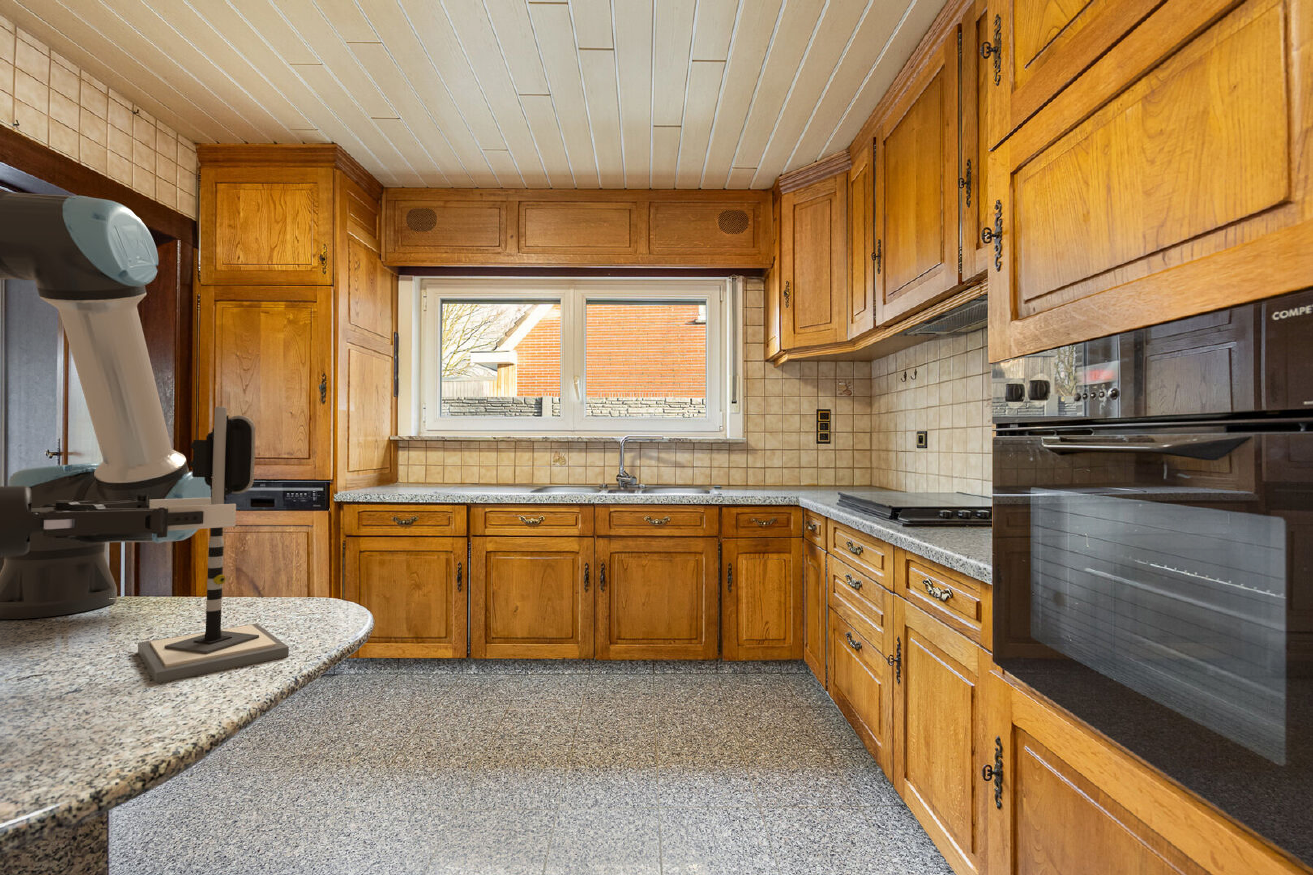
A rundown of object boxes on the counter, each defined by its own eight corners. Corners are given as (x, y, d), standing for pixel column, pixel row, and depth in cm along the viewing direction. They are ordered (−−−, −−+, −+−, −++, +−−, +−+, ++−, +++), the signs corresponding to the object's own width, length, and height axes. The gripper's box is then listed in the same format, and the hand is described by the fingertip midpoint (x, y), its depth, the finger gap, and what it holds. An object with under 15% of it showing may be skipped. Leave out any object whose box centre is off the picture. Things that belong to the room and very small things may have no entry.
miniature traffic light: (263, 636, 80) (270, 409, 81) (206, 654, 72) (215, 404, 73) (220, 631, 82) (227, 409, 83) (161, 648, 75) (170, 405, 75)
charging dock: (137, 652, 77) (138, 640, 77) (256, 631, 87) (256, 621, 87) (156, 683, 67) (156, 669, 67) (288, 656, 76) (288, 644, 77)
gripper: (-21, 545, 72) (200, 531, 87) (-32, 576, 55) (246, 551, 70) (-18, 482, 72) (202, 478, 87) (-28, 492, 55) (248, 486, 70)
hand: (222, 511), depth 79 cm, fingers open, 13 cm apart
